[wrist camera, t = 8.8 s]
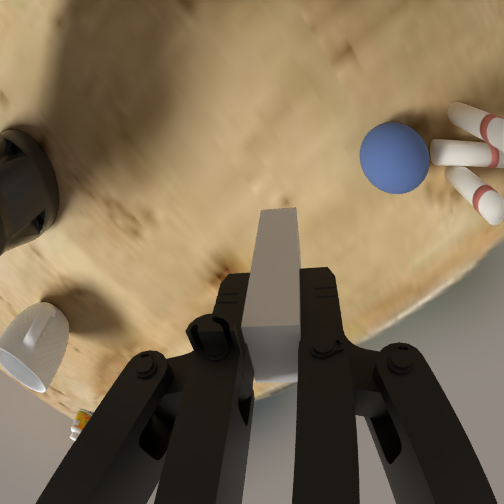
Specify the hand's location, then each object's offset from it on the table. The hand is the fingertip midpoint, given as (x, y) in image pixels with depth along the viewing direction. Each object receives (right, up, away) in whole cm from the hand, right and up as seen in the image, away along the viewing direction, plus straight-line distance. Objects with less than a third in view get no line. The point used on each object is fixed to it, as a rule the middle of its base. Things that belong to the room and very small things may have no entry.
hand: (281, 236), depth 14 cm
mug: (-35, -11, +32) cm, 49 cm away
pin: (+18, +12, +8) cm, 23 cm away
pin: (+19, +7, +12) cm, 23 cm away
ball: (+10, +7, +9) cm, 16 cm away
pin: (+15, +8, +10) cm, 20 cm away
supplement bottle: (-49, -47, +58) cm, 89 cm away
